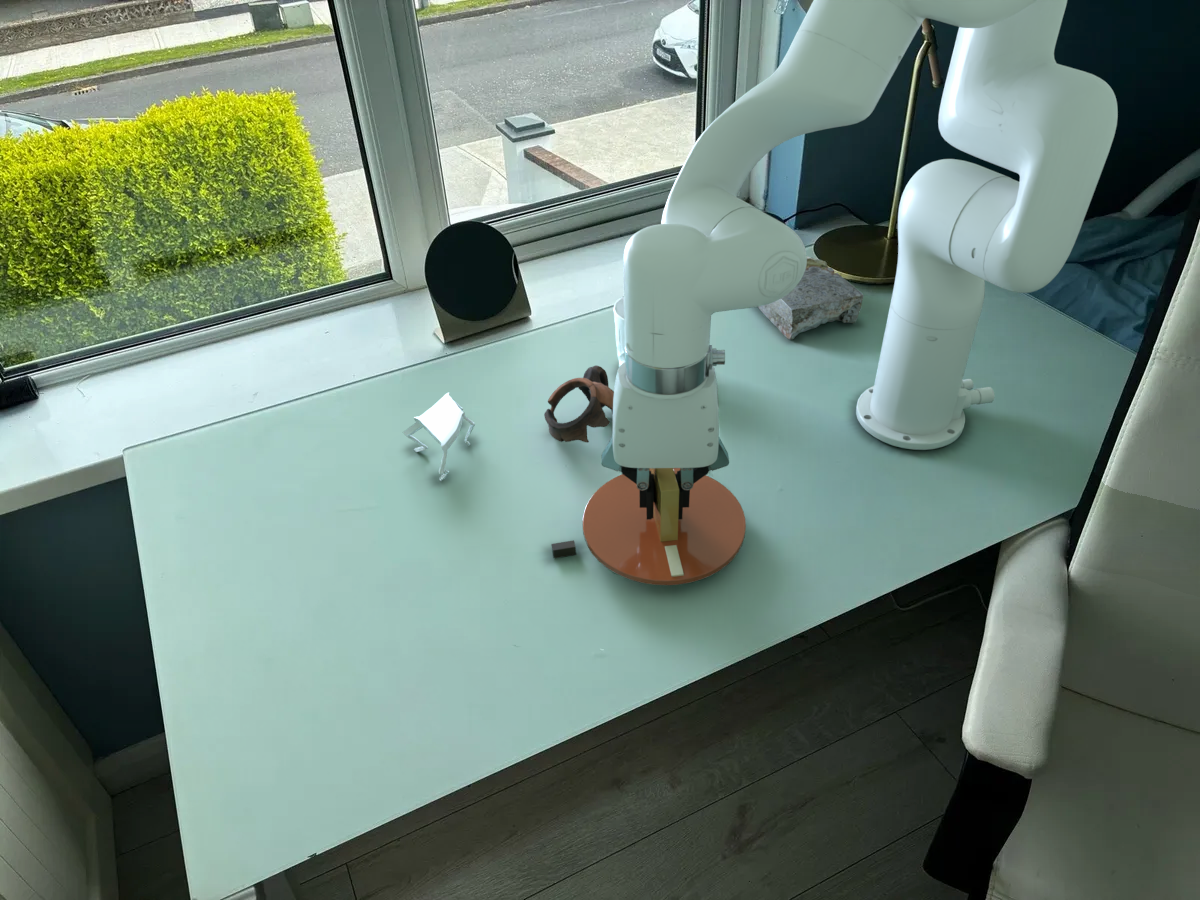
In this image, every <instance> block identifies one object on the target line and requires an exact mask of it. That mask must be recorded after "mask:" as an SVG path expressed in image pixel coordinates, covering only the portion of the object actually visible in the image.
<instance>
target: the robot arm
mask: <svg viewBox="0 0 1200 900" xmlns="http://www.w3.org/2000/svg"><path fill="white" fill-rule="evenodd" d="M1067 4H1068V0H812V2H811V4H810V6H809V7H808V10H807V13H806V14H805V16H804V17H803V19H802V22H801V24H800V25H799V28H798V30H797V31H796V33H795V35H794V38H793V39H792V42H791V44H790V46H789V48H788V50H787V52H786V53H785V55H784V57H783V58H782V61H781V63H780V64H779V66H778V67H777V68H776V69H775V71H774V72H773V73H772V74H770V75H769V76H768V77H767V78H765V79H764V80H762V81H761V82H759V83H758V84H756V85H755V86H753V87H752V88H751V89H749V90H748V91H747V92H745V93H743V95H741V96H740V97H739V98H738V99H736V100H735V101H734V102H733V103H732V104H730V106H728V107H727V108H726V109H725V110H723V112H722V113H720V115H718V116H717V117H716V118H715V119H714V120H713V121H712V122H711V123H709V125H708V126H707V127H706V128H705V129H704V131H703V132H702V133H701V134H700V135H699V136H698V138H697V140H696V141H695V143H694V145H693V146H692V147H691V149H690V151H689V153H688V154H687V157H686V159H685V161H684V163H683V165H682V167H681V169H680V171H679V172H678V175H677V177H676V179H675V181H674V183H673V186H672V187H671V189H670V192H669V194H668V197H667V200H666V202H665V206H664V208H663V211H662V216H661V221H660V223H659V224H653V225H648V226H646V227H643V228H641V229H639V230H638V231H636V232H634V234H632V235H631V237H630V238H629V239H628V240H627V242H626V244H625V246H624V251H623V296H624V325H625V362H624V363H622V364H621V365H620V366H619V365H618V368H617V371H616V377H615V381H614V388H613V391H614V397H613V415H612V430H611V431H612V435H611V437H610V438H609V440H608V442H607V444H606V446H605V448H604V450H603V452H602V453H601V461H600V464H601V466H602V467H603V468H606V469H609V470H612V471H615V472H621V474H623V475H625V476H626V477H627V478H629V479H630V480H631V481H633V482H634V483H635V484H637V489H639V490H640V508H646V516H647V520H651V519H652V518H653V512H654V485H653V474H651V471H650V468H680V471H677V474H675V476H676V480H677V483H678V487H679V514H678V519H682V514H683V508H687V507H689V498H690V490H691V489H692V488H693V484H694V483H695V482H697V481H698V480H699V479H701V478H702V477H704V476H705V475H706V476H707V475H708V474H709V472H711V471H712V472H713V471H716V470H720V469H723V468H725V467H728V466H729V465H730V457H729V452H728V451H727V449H726V447H725V445H724V443H723V441H722V440H721V437H720V404H719V402H720V401H719V388H718V387H719V385H718V378H717V373H716V369H715V367H717V366H721V365H725V364H726V350H725V349H717V348H716V347H715V348H713V344H711V343H710V342H711V326H712V325H711V324H712V315H714V314H716V313H721V312H728V311H738V310H745V309H752V308H758V307H759V306H763V305H767V304H770V303H773V302H775V301H777V300H779V299H781V298H783V297H784V296H786V295H787V294H789V293H790V292H791V291H792V290H793V289H794V288H795V287H796V286H797V284H798V283H799V282H800V280H801V278H802V277H803V275H804V272H805V269H806V264H807V256H808V255H807V250H806V246H805V244H804V242H803V240H802V238H801V237H800V236H799V235H798V233H797V232H795V230H793V229H792V228H791V227H789V226H788V225H786V224H785V223H784V222H782V221H780V220H778V219H777V218H775V217H773V216H771V215H769V214H767V213H766V212H764V211H762V210H760V209H759V208H757V207H756V206H753V205H752V204H750V203H748V202H746V201H744V200H743V199H741V198H739V197H738V195H739V193H740V191H741V189H742V186H743V185H744V183H745V181H746V180H747V178H748V176H749V175H750V173H751V172H752V170H754V168H755V167H756V166H757V164H758V163H759V162H760V161H761V160H762V159H763V158H764V157H765V156H766V155H767V154H769V152H771V151H772V150H773V149H775V148H776V147H778V146H780V145H781V144H783V143H785V142H787V141H789V140H792V139H794V138H796V137H799V136H802V135H806V134H810V133H814V132H815V133H816V132H818V131H824V130H828V129H834V128H839V127H847V126H851V125H855V124H858V123H860V122H863V121H865V120H866V119H867V118H868V117H870V115H871V114H873V111H874V110H875V109H876V107H877V104H878V103H879V101H880V99H881V97H882V96H883V93H884V92H885V90H886V88H887V86H888V84H889V82H890V81H891V79H892V77H893V76H894V74H895V72H896V70H897V68H898V66H899V64H900V63H901V60H902V59H903V57H904V56H905V53H906V52H907V50H908V48H909V46H910V44H911V43H912V41H913V39H914V38H915V36H916V34H917V32H918V30H919V29H920V27H921V25H922V23H923V22H924V20H926V19H930V20H934V21H937V22H941V23H944V24H947V25H951V26H954V27H958V30H957V33H956V38H955V42H954V47H953V51H952V54H951V58H950V63H949V67H948V70H947V74H946V79H945V83H944V88H943V91H942V96H941V100H940V105H939V110H938V119H937V123H938V125H937V126H938V131H939V133H940V136H941V137H942V138H943V140H944V142H947V144H949V145H950V146H951V147H953V148H955V149H957V150H959V151H961V152H963V153H966V154H967V155H970V156H973V157H975V158H976V159H977V158H978V159H980V160H983V161H985V162H987V163H990V164H993V165H995V166H998V167H1001V168H1003V169H1006V170H1008V171H1010V172H1013V173H1016V174H1018V175H1019V181H1018V180H1016V179H1013V178H1012V177H1010V176H1008V175H1005V174H1002V173H999V172H998V171H995V170H992V169H989V168H987V167H985V166H982V165H980V164H977V163H974V162H970V161H967V160H962V159H955V158H943V159H938V160H934V161H931V162H929V163H927V164H925V165H923V166H922V167H921V168H920V169H918V170H917V171H916V172H915V173H914V174H913V175H912V177H911V178H910V179H909V181H908V182H907V184H906V185H905V187H904V189H903V192H902V193H901V197H900V201H899V205H898V212H897V243H898V245H897V253H898V254H897V264H896V271H895V278H894V284H893V289H892V294H891V300H890V304H889V309H888V313H887V319H886V324H885V329H884V334H883V339H882V344H881V348H880V353H879V358H878V364H877V368H876V374H875V378H874V379H875V380H874V383H873V385H872V386H870V387H869V388H866V389H865V390H864V391H863V392H862V393H861V394H860V396H859V397H858V399H857V403H856V408H855V415H856V419H857V421H858V423H859V424H860V426H861V427H862V428H863V429H864V430H865V431H866V432H867V433H868V434H869V435H870V436H872V437H874V438H875V439H877V440H879V441H881V442H883V443H886V444H887V445H890V446H893V447H898V448H900V449H907V450H912V451H913V450H915V451H926V450H936V449H939V448H943V447H946V446H948V445H950V444H952V443H954V442H955V441H956V440H958V438H959V437H960V436H961V435H962V433H963V431H964V428H965V423H966V414H965V412H964V410H967V409H969V408H970V407H971V406H972V405H985V404H991V403H993V402H994V401H995V398H996V397H995V396H996V395H995V391H994V389H993V388H992V387H991V386H986V387H978V388H975V389H974V381H973V379H971V378H965V379H964V376H965V371H966V368H967V365H968V361H969V357H970V354H971V350H972V346H973V342H974V339H975V336H976V331H977V328H978V325H979V321H980V317H981V314H982V312H983V308H984V307H983V306H984V303H985V297H986V296H985V295H986V282H988V283H989V284H992V285H994V286H996V287H998V288H1001V289H1003V290H1006V291H1009V292H1012V293H1017V294H1028V293H1034V292H1037V291H1038V290H1041V289H1043V288H1045V287H1046V286H1047V285H1048V284H1049V283H1051V282H1052V281H1053V280H1054V279H1055V278H1056V277H1057V275H1058V274H1059V273H1060V271H1061V270H1062V269H1063V267H1064V266H1065V264H1066V262H1067V260H1068V258H1069V257H1070V255H1071V252H1072V251H1073V248H1074V246H1075V244H1076V241H1077V239H1078V237H1079V234H1080V231H1081V229H1082V225H1083V223H1084V220H1085V218H1086V215H1087V212H1088V210H1089V207H1090V204H1091V202H1092V199H1093V196H1094V193H1095V191H1096V188H1097V187H1098V186H1097V185H1098V183H1099V180H1100V178H1101V175H1102V172H1103V170H1104V167H1105V164H1106V161H1107V159H1108V156H1109V153H1110V150H1111V147H1112V144H1113V142H1114V138H1115V134H1116V130H1117V127H1118V117H1119V116H1118V115H1119V114H1118V113H1119V111H1118V101H1117V98H1116V97H1117V96H1116V94H1115V92H1114V90H1113V89H1112V87H1111V86H1110V85H1109V84H1108V82H1106V80H1104V79H1102V78H1101V77H1099V76H1097V75H1095V74H1093V73H1090V72H1087V71H1084V70H1080V69H1078V68H1073V67H1071V66H1067V65H1063V64H1060V63H1057V61H1056V59H1055V49H1056V45H1057V41H1058V37H1059V34H1060V30H1061V27H1062V23H1063V18H1064V15H1065V11H1066V8H1067Z"/></svg>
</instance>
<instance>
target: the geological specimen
mask: <svg viewBox="0 0 1200 900" xmlns="http://www.w3.org/2000/svg"><path fill="white" fill-rule="evenodd" d="M863 300H864V294H863V293H862V292H861V291H860V290H859V289H858V288H857V287H855V286H854V285H853V284H851V282H850V281H848V280H847V279H845V278H844V277H843V276H841V274H840V273H838V272H835V269H834V268H832V267H829V265H828V263H827V262H826V261H825V260H822V259H819V258H814V257H811V256H808V255H807V264H806V269H805V272H804V275H803V277H802V278H801V280H800V282H799V283H798V284H797V286H796V287H795V288H794V289H793V290H792V291H791V292H790V293H789V294H787V295H786V296H784V297H783V298H781V299H779V300H777V301H775V302H773V303H770V304H767V305H763V306H759V307H757V308H758V310H759V311H761V313H762V314H763V315H764V316H765V317H766V318H767V319H768V320H769V321H770V323H772V325H773V326H775V327H776V328H777V329H778V331H779V332H780V333H781V334H782V335H783V336H784V337H785V338H786V339H787V340H789V341H792V340H794V339H795V337H796V336H798V335H799V334H800V333H805V332H807V331H809V330H814V329H816V328H817V327H819V326H820V325H822V324H823V325H825V324H826V323H833V322H835V321H839V322H842V323H844V324H847V323H849V324H856V322H857V320H858V317H859V314H860V312H861V310H862V304H863Z"/></svg>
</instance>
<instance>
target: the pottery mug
mask: <svg viewBox="0 0 1200 900" xmlns="http://www.w3.org/2000/svg"><path fill="white" fill-rule="evenodd" d="M577 388H578V390H580V391H581V392H582V393H583V395H584V396H585V397H586V400H587V401H588V404H587V407H586V408H585V409H584V410H583V412H581V414H580V415H578V417H576V418H575V419H573V420H570V421H568V422H558V419H557V418H556V416H555V410H556V408H557V406H558V405H559V404H560V402H561V400H562V399H563V398H564V397H565V396H566V395H567V394H569V393H570V392H572V391H574V390H575V389H577ZM613 397H614V389H611V388H610V386H609V377H608V374H607V371H606V370H605V369H604V368H603V367H602V366H600V365H592V366H589V367H588V368H586V370H585V372H584V373H583V377H575V378H571V379H569V380H566V381H564V382H563V383H562V384H560V385H559V386H557V388H556V389H554V391H553V392H552V394H551V395H550V396H549V398H548V400H547V403H548V404H549V405H550V406H551V407H550V408H547V409H546V411H545V412H544V415H543V416H544V419H545V421H546V424H547V425H548V432H549V434H550V436H551V437H552V438H553V439H555V441H556V440H557V441H558V442H560V443H562V442H565V443H570V442H574V441H575V442H576V441H580V442H583V443H587V444H588V443H589V442H590V441H589V439H588V427H590V428H606V427H608V426H609V425H610V424H611V421H610V420H609V418H608V417H607V415H606V412H605V410H604V409H603V408H604V407H607V408H608V409H610V410H611V415H612V416H613Z"/></svg>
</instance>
